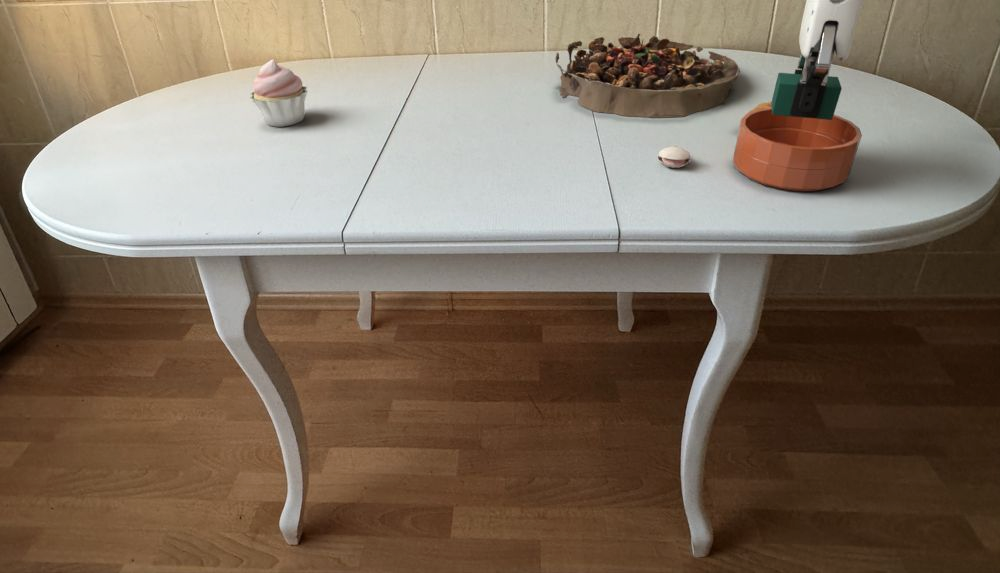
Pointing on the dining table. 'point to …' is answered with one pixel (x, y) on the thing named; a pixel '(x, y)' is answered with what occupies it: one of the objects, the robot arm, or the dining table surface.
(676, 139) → the dining table surface
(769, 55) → the dining table surface
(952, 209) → the dining table surface
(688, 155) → the macaroon
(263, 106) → the cupcake
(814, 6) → the robot arm
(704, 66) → the food dish
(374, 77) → the dining table surface
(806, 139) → the bowl
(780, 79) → the sponge
